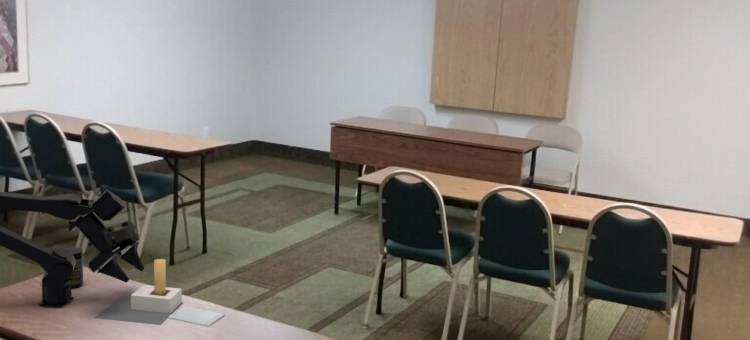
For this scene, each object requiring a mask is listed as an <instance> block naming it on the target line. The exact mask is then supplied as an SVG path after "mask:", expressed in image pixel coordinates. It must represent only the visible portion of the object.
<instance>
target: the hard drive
mask: <svg viewBox="0 0 750 340" xmlns="http://www.w3.org/2000/svg"><path fill="white" fill-rule="evenodd" d="M225 316H226V314H223V313H220V312H219V313H218V312H215V311H209V310H204V309H201V308H195V307H190V306H186V305H185V306H182V307H181V308H178V309H177V310H176V311H175V312H173V313H172V314H171V315H170V316H168V318H167V319H170V320H174V321H175V320H176V321H178V322H183V323H189V324H193V325H198V326H203V327H207V328H209V327H211V326H212V325H214V324H216V322H218V321H220V320H221V319H223V318H224V317H225Z"/></svg>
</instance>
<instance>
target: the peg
mask: <svg viewBox="0 0 750 340" xmlns="http://www.w3.org/2000/svg"><path fill="white" fill-rule="evenodd" d="M166 261H167V260H166V259H165V258H157V259H154V260H153V280H154V281H153V284H154V285H153V286H154V295H158V296H166V287H167V285H166V284H167V272H166V270H167V268H166V267H167V266H166Z"/></svg>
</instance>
